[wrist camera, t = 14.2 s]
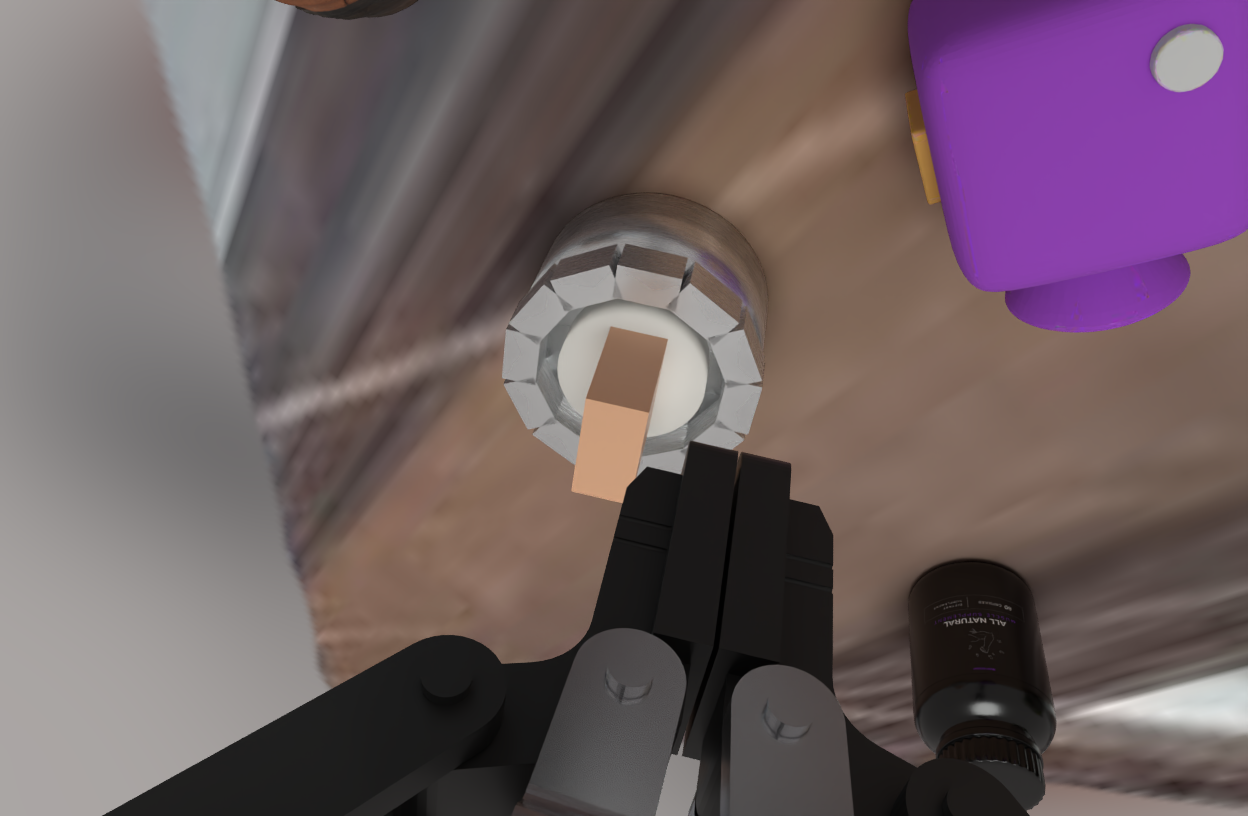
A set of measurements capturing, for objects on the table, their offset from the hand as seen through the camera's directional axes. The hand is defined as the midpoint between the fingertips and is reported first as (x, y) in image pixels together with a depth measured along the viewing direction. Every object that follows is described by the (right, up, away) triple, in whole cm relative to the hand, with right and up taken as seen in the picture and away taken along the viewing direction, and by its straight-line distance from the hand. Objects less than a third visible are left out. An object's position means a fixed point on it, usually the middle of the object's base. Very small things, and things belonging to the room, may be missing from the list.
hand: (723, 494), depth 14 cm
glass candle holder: (0, +7, +32) cm, 33 cm away
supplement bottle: (+18, -9, +41) cm, 46 cm away
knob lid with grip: (-1, +4, +28) cm, 28 cm away
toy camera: (+16, +14, +24) cm, 31 cm away
